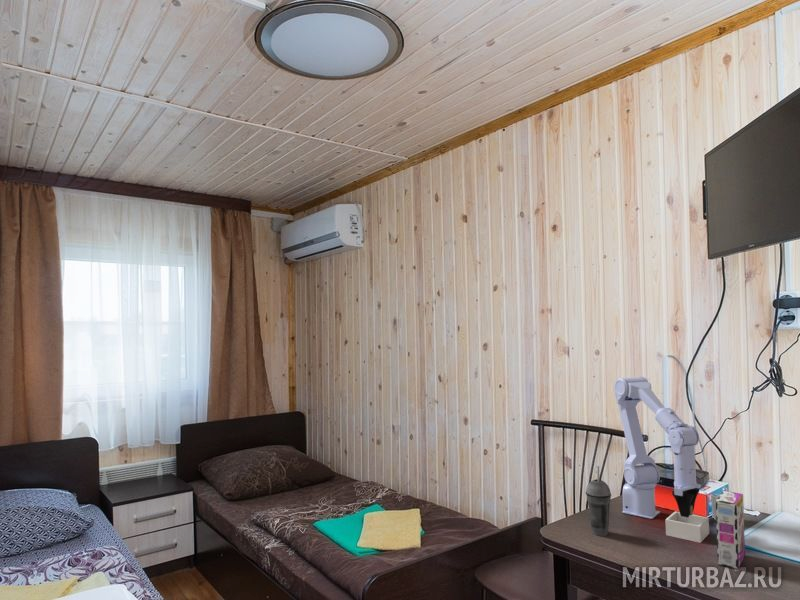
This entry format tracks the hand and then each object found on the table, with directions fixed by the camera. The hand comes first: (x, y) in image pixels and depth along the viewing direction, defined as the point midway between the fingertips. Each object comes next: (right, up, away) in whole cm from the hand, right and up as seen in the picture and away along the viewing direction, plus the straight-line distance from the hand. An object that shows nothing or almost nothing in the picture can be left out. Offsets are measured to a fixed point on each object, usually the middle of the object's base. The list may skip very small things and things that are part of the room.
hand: (686, 514), depth 163 cm
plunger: (0, -5, 0) cm, 5 cm away
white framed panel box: (0, -6, 0) cm, 6 cm away
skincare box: (+17, -6, +10) cm, 21 cm away
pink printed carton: (+2, -5, -19) cm, 19 cm away
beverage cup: (-25, -7, +2) cm, 26 cm away
